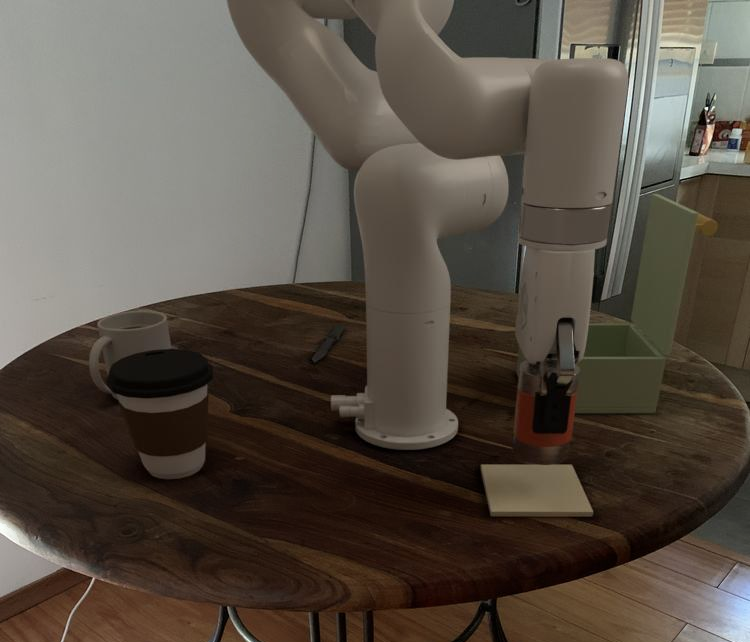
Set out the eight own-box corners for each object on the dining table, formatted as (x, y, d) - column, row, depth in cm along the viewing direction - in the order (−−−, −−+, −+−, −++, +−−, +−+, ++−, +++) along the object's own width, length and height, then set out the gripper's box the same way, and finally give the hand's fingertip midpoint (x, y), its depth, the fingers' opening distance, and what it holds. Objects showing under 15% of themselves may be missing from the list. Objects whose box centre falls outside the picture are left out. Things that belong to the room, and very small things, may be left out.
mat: (490, 516, 72) (491, 511, 72) (480, 469, 81) (480, 464, 81) (592, 516, 72) (593, 511, 72) (571, 469, 81) (572, 464, 80)
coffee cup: (120, 454, 85) (100, 354, 79) (214, 438, 88) (202, 342, 82) (130, 498, 76) (108, 389, 70) (234, 478, 80) (222, 373, 74)
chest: (532, 413, 94) (538, 358, 90) (516, 373, 107) (520, 323, 103) (655, 413, 94) (666, 358, 90) (624, 372, 106) (632, 323, 102)
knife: (332, 322, 125) (349, 321, 125) (332, 327, 126) (349, 325, 125) (305, 360, 111) (324, 359, 110) (306, 365, 111) (325, 364, 110)
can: (516, 465, 72) (524, 378, 67) (508, 440, 77) (515, 357, 72) (574, 465, 72) (586, 377, 67) (563, 440, 76) (573, 357, 72)
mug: (173, 375, 107) (162, 307, 102) (182, 399, 99) (171, 326, 94) (95, 386, 104) (80, 316, 99) (98, 411, 96) (82, 336, 91)
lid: (691, 212, 81) (737, 212, 81) (651, 193, 94) (691, 193, 94) (663, 355, 90) (705, 355, 90) (630, 320, 102) (666, 320, 102)
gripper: (506, 210, 71) (494, 386, 80) (536, 245, 56) (517, 458, 65) (585, 209, 71) (563, 386, 80) (636, 244, 56) (602, 457, 65)
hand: (543, 416), depth 72 cm, fingers closed on can, 5 cm apart
